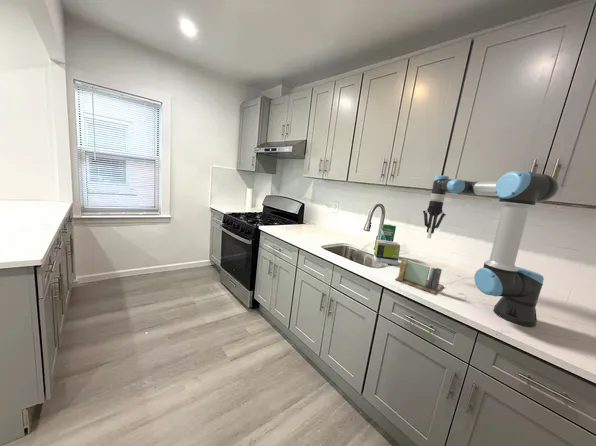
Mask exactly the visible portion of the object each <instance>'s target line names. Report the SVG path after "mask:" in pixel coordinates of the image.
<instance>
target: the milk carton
mask: <svg viewBox="0 0 596 446" xmlns="http://www.w3.org/2000/svg"><path fill="white" fill-rule="evenodd" d="M396 229H397V226H396V225H392V224H390V223H386V224H385V223H384V224H382V225H381V230H380V234H379V235H380V236H379V239H378V240H384V241H391V242H394V239H395V233H396Z"/></svg>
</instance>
